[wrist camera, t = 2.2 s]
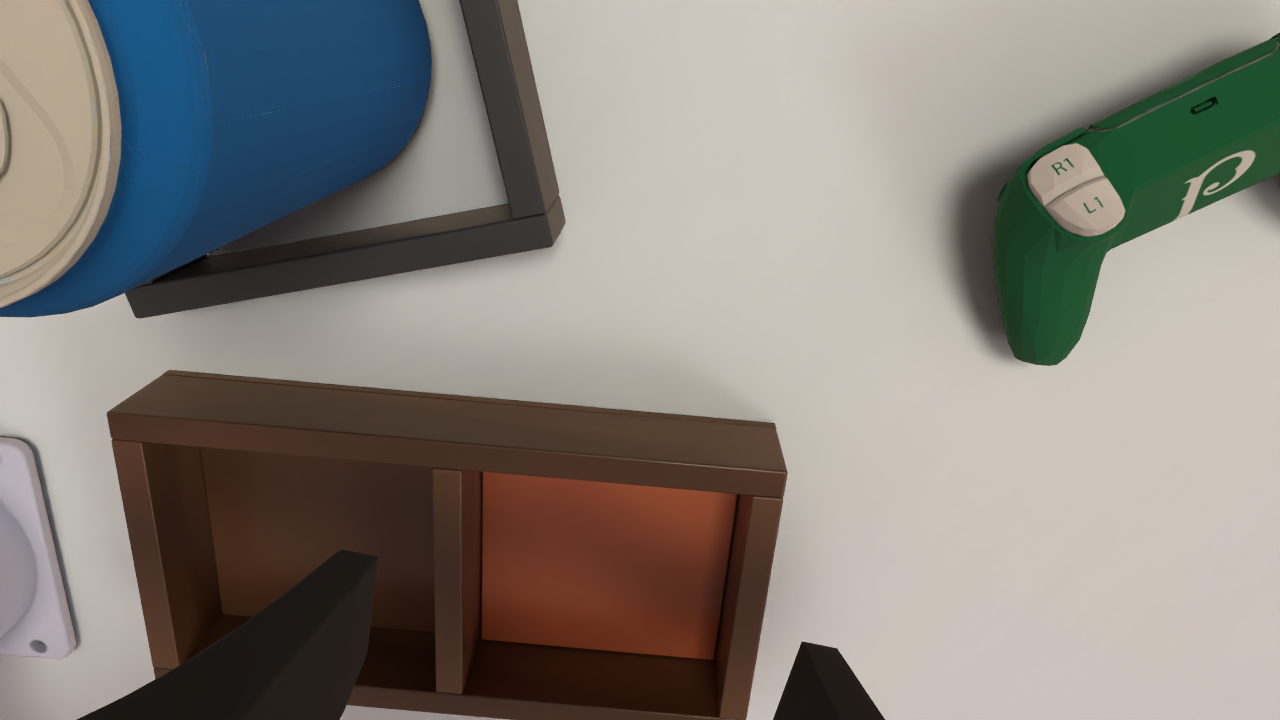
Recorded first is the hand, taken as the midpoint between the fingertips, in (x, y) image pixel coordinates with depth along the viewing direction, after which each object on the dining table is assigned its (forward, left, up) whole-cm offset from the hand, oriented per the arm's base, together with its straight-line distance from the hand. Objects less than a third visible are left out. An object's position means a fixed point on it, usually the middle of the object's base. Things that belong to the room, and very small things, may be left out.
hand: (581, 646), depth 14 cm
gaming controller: (+13, +7, -10) cm, 18 cm away
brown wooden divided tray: (-4, -5, -10) cm, 12 cm away
